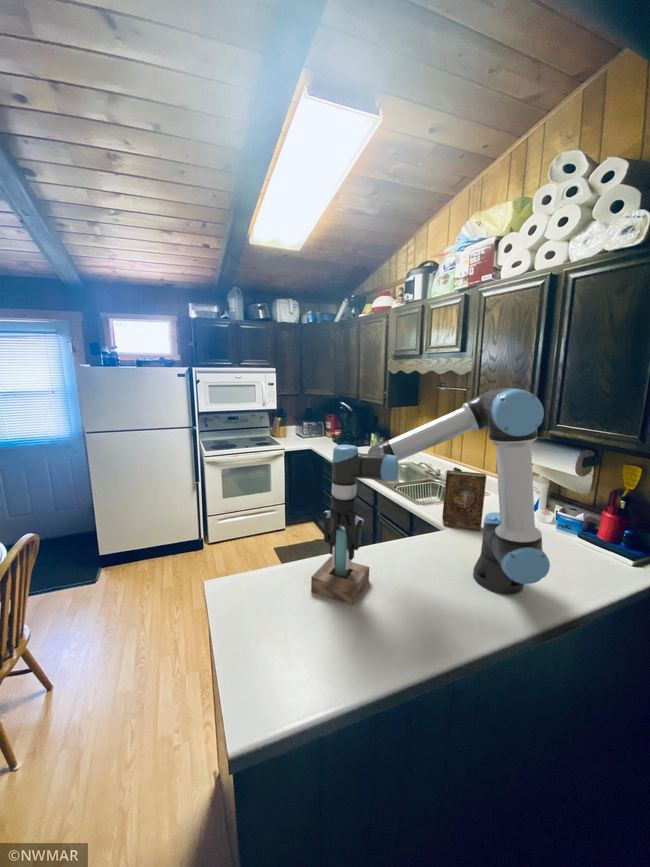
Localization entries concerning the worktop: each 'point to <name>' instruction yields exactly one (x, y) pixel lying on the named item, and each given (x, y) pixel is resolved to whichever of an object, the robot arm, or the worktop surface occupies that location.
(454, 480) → the book
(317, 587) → the socket block
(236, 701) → the worktop surface
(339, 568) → the peg
